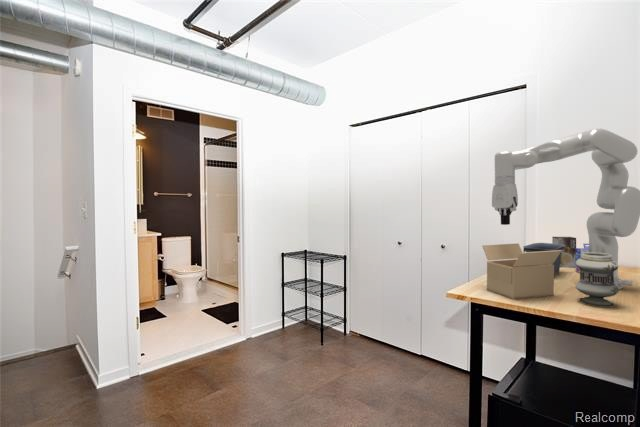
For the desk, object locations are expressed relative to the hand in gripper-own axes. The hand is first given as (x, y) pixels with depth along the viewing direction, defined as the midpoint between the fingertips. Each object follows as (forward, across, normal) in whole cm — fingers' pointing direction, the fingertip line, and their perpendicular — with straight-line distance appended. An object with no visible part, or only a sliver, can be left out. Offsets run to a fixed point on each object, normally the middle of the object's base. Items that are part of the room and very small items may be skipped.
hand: (505, 224), depth 144 cm
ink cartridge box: (+28, -11, +59) cm, 66 cm away
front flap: (+12, +16, -1) cm, 20 cm away
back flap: (+12, 0, -1) cm, 12 cm away
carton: (+27, +8, -1) cm, 28 cm away
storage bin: (+28, -16, +36) cm, 48 cm away
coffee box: (+28, -27, +62) cm, 73 cm away
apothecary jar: (+28, +27, +14) cm, 41 cm away
